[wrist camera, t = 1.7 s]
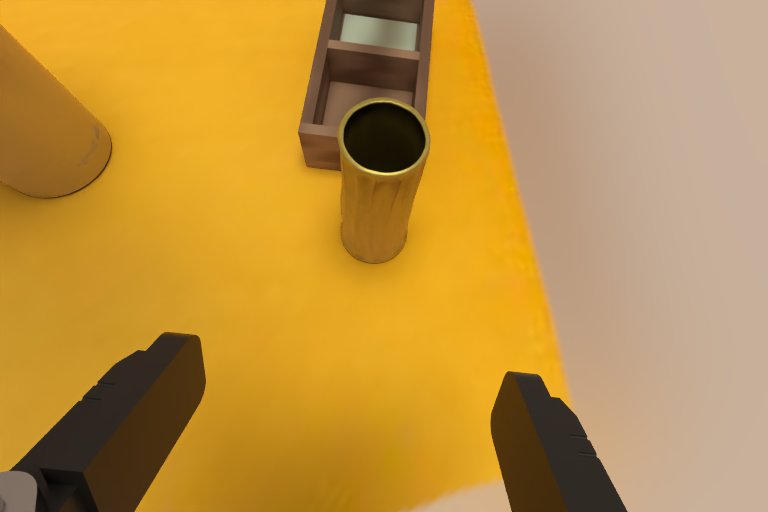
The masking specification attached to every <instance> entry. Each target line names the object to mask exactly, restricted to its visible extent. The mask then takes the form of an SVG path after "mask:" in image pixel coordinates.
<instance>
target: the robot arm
mask: <svg viewBox="0 0 768 512" xmlns="http://www.w3.org/2000/svg"><path fill="white" fill-rule="evenodd" d="M110 152H111V140H110V137H109V133H108V132H107V130H106V129H105V127H104V126H103V125H102V124H101V123H100V122H99V121H98V120H97V119H96V118H95V117H94V116H93V115H92V114H91V113H90V112H89V111H88V110H87V109H86V108H85V107H84V106H83V105H82V104H81V103H80V102H79V101H78V100H77V99H76V98H75V97H74V96H73V95H72V94H71V93H70V92H69V91H68V90H67V89H66V88H65V87H64V86H63V85H62V84H61V83H60V82H59V81H58V80H57V79H56V78H55V77H54V76H53V75H52V74H51V73H50V72H49V71H48V70H47V69H45V68H44V67H43V66H42V65H41V64H40V63H39V62H38V61H37V60H36V59H35V58H34V57H33V56H32V55H31V54H30V53H29V52H28V51H27V50H26V49H25V48H24V47H23V46H22V45H21V44H20V43H19V42H18V41H17V40H16V39H15V38H14V37H13V36H12V35H11V34H10V33H9V32H8V31H7V30H6V29H5V28H4V27H3V26H2V25H1V24H0V181H1V182H3V183H5V184H7V185H9V186H10V187H12V188H14V189H16V190H18V191H20V192H21V193H24V194H27V195H30V196H34V197H41V198H47V197H57V196H62V195H66V194H69V193H71V192H74V191H77V190H79V189H80V188H82V187H84V186H85V185H87V184H89V183H90V182H91V181H92V180H93V179H94V178H96V177H97V176H98V174H99V173H100V172H101V171H102V170H103V168H104V167H105V165H106V163H107V161H108V159H109V155H110ZM205 384H206V378H205V370H204V363H203V356H202V348H201V342H200V338H199V337H198V336H197V335H191V334H182V333H173V332H165V333H163V334H161V335H160V336H159V337H158V338H157V339H156V341H155V342H154V343H153V344H152V345H151V346H150V347H149V348H148V349H147V350H146V351H141V350H138V351H136V352H134V353H133V354H131V355H129V356H128V357H126V358H124V359H123V360H121V361H119V362H118V363H116V364H115V365H114V366H113V367H112V368H111V369H110V370H109V371H108V372H107V373H106V374H105V375H104V376H103V377H102V378H101V379H100V380H99V381H98V384H97V385H96V386H93V387H92V388H91V389H90V390H89V391H88V392H87V393H86V394H85V395H84V396H83V399H82V401H78V402H77V403H76V404H75V405H74V406H73V407H72V408H71V409H70V410H69V411H68V412H67V414H66V415H65V416H64V417H63V418H62V419H61V420H60V421H59V422H58V423H57V424H56V425H55V426H54V427H53V428H52V429H51V430H50V431H49V432H48V433H47V434H46V435H45V436H44V437H43V438H42V439H41V440H40V441H39V442H38V443H37V444H36V445H35V446H34V447H33V448H32V449H31V450H30V451H29V452H28V453H27V454H26V455H25V456H24V457H23V458H22V459H21V460H20V461H19V462H18V463H17V464H16V465H15V466H14V467H13V468H12V469H11V470H9V471H6V472H1V473H0V512H134V511H135V510H136V508H137V506H138V505H139V503H140V501H141V500H142V498H143V496H144V495H145V493H146V491H147V490H148V488H149V486H150V485H151V483H152V481H153V480H154V478H155V476H156V475H157V473H158V472H159V470H160V468H161V467H162V465H163V463H164V462H165V460H166V458H167V457H168V455H169V453H170V452H171V450H172V448H173V447H174V445H175V443H176V442H177V440H178V438H179V437H180V435H181V433H182V432H183V430H184V429H185V427H186V425H187V424H188V422H189V420H190V419H191V417H192V415H193V414H194V412H195V410H196V409H197V407H198V405H199V404H200V402H201V399H202V397H203V394H204V390H205ZM491 434H492V439H493V443H494V446H495V450H496V454H497V458H498V461H499V465H500V469H501V473H502V477H503V480H504V484H505V488H506V492H507V495H508V499H509V503H510V506H511V510H512V512H627V510H626V508H625V506H624V504H623V502H622V500H621V499H620V497H619V495H618V493H617V491H616V489H615V487H614V485H613V484H612V482H611V480H610V478H609V476H608V474H607V472H606V470H605V469H604V467H603V465H602V463H601V461H600V460H599V458H597V457H596V452H595V450H594V448H593V446H592V444H591V442H590V441H589V440H587V435H586V433H585V431H584V429H583V427H582V425H581V424H580V422H579V420H578V418H577V416H576V415H575V414H574V413H573V412H572V411H571V410H570V409H569V408H568V407H567V405H566V404H565V403H564V402H563V401H562V400H561V399H560V398H555V397H551V396H550V394H549V392H548V390H547V388H546V386H545V384H544V382H543V380H542V378H541V377H540V376H539V375H537V374H529V373H520V372H511V371H508V372H507V373H506V374H505V376H504V379H503V382H502V385H501V387H500V390H499V393H498V396H497V399H496V401H495V404H494V407H493V410H492V414H491Z"/></svg>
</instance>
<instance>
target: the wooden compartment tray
mask: <svg viewBox="0 0 768 512" xmlns="http://www.w3.org/2000/svg"><path fill="white" fill-rule="evenodd" d="M434 1H435V0H326V4H325V9H324V14H323V19H322V23H321V28H320V33H319V37H318V42H317V47H316V51H315V56H314V61H313V65H312V70H311V75H310V80H309V84H308V89H307V94H306V98H305V103H304V108H303V112H302V117H301V122H300V127H299V131H298V133H299V137H300V141H301V145H302V149H303V153H304V157H305V161H306V165H307V167H315V168H323V169H331V170H339V171H341V162H340V148H339V144H338V139H337V130H338V126H339V124H340V122H341V120H342V119H343V117H344V115H345V114H346V113H347V111H349V110H350V109H351V108H352V107H354V106H355V105H357V104H359V103H361V102H363V101H365V100H368V99H372V98H380V97H384V98H393V99H396V100H399V101H401V102H404V103H406V104H408V105H410V106H412V107H413V108H414V109H415V110H416V111H418V113H419V114H420V115H421V116H422V117H423V119H424V120H425V113H426V101H427V88H428V76H429V63H430V51H431V38H432V26H433V13H434Z"/></svg>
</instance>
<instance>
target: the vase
mask: <svg viewBox="0 0 768 512" xmlns="http://www.w3.org/2000/svg"><path fill="white" fill-rule="evenodd" d="M337 139H338V144H339V148H340V162H341V175H342V188H341V215H342V223H341V239H342V242H343V244H344V246H345V248H346V249H347V250H348V252H349V253H350V254H351V255H352V256H354V257H355V258H357V259H359V260H361V261H364V262H368V263H381V262H385V261H388V260H390V259H392V258H393V257H395V256H396V255H397V254H398V253H399V252H400V251H401V250H402V248H403V247H404V245H405V242H406V238H407V226H408V221H409V216H410V213H411V209H412V206H413V202H414V198H415V195H416V192H417V188H418V186H419V182H420V179H421V176H422V173H423V169H424V166H425V163H426V160H427V157H428V154H429V149H430V134H429V131H428V128H427V125H426V122H425V120H424V119H423V117H422V116H421V115H420V114H419V113H418V111H416V110H415V109H414V108H413V107H412V106H410V105H408V104H406V103H404V102H401V101H399V100H396V99H393V98H384V97H380V98H372V99H368V100H365V101H363V102H361V103H359V104H357V105H355V106H354V107H352V108H351V109H350V110H349V111H347V113H346V114H345V115H344V117H343V119H342V120H341V122H340V124H339V126H338V130H337Z"/></svg>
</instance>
